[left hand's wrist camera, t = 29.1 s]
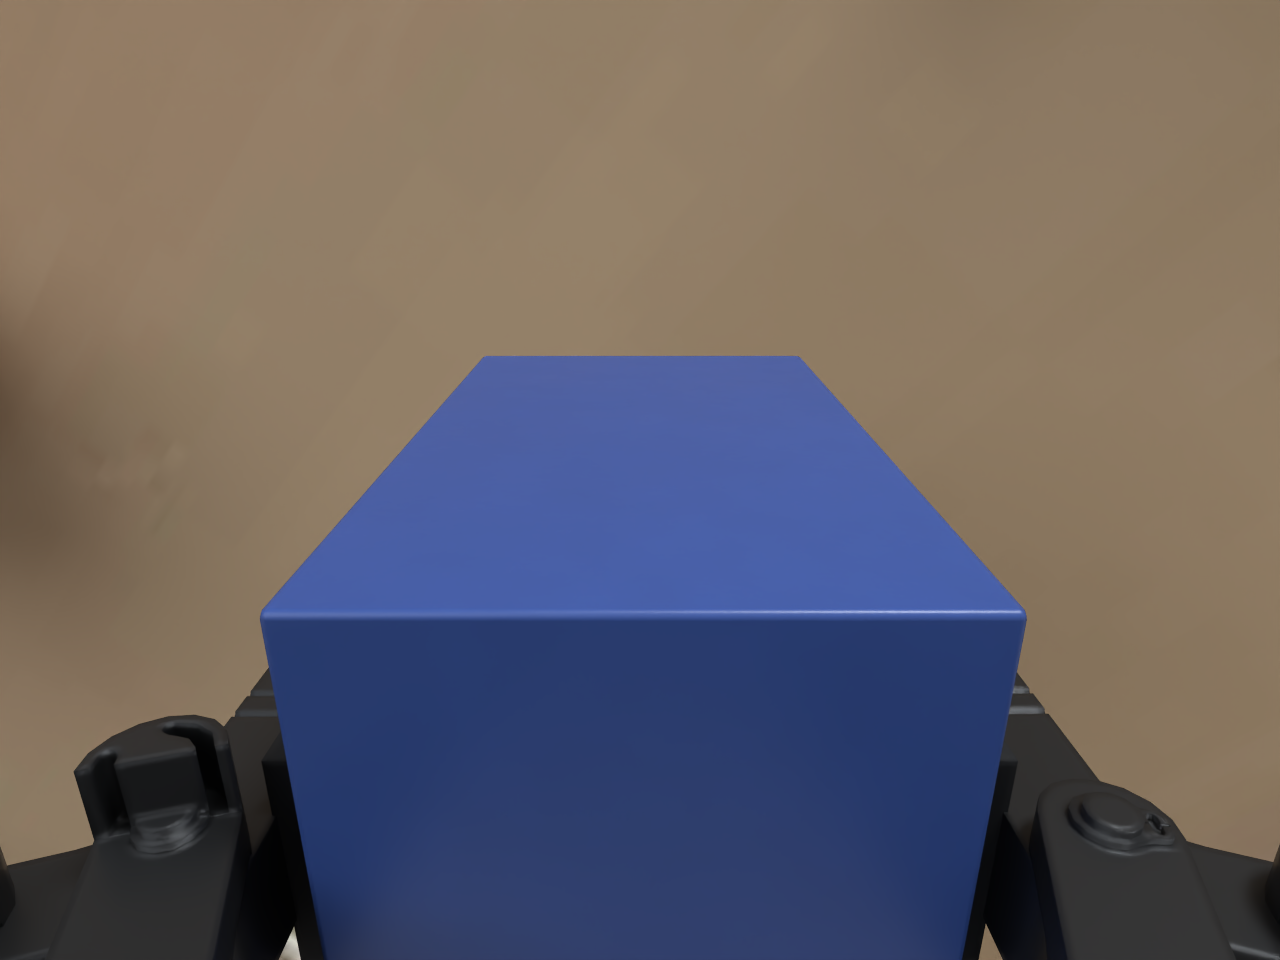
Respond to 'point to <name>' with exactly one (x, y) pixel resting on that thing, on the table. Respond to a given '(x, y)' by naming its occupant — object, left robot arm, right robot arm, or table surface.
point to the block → (642, 680)
